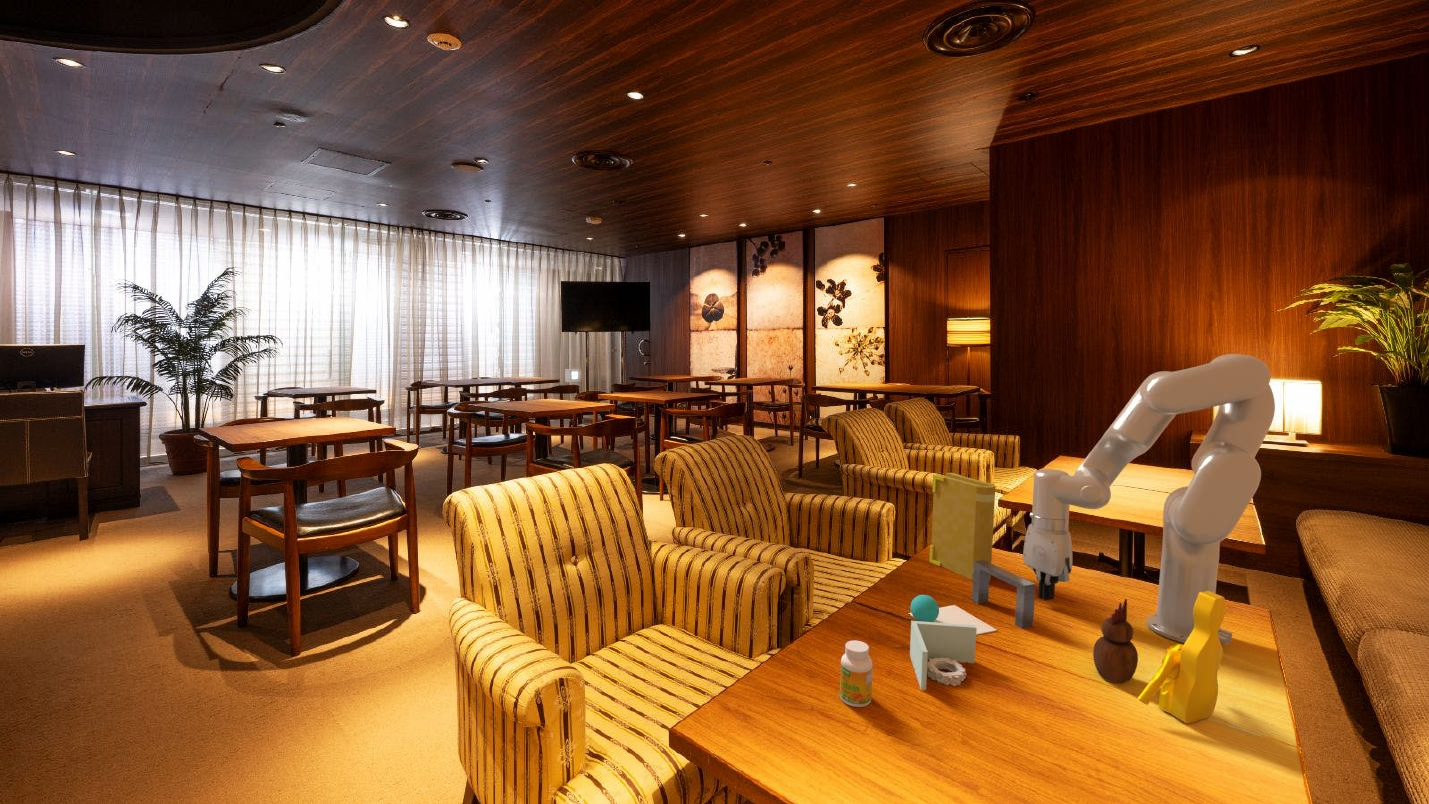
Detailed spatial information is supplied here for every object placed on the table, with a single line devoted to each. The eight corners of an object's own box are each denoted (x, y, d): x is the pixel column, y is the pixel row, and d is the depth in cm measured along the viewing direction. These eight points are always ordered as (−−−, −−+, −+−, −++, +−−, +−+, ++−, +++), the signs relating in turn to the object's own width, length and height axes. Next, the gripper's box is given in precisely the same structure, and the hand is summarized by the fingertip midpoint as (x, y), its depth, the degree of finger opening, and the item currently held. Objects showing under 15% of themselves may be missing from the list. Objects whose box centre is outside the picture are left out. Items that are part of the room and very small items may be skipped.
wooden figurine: (1120, 669, 116) (1126, 593, 114) (1142, 686, 110) (1149, 607, 108) (1085, 669, 116) (1091, 594, 114) (1106, 687, 110) (1112, 607, 108)
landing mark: (996, 630, 131) (997, 630, 131) (947, 640, 126) (947, 639, 126) (954, 605, 143) (954, 605, 143) (908, 613, 139) (908, 613, 139)
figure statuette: (1195, 691, 109) (1206, 573, 106) (1246, 717, 101) (1259, 590, 99) (1125, 712, 102) (1135, 586, 100) (1173, 741, 95) (1185, 606, 93)
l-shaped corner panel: (920, 691, 109) (922, 651, 108) (909, 656, 121) (911, 620, 120) (991, 697, 107) (993, 657, 106) (973, 661, 119) (975, 625, 118)
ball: (930, 633, 132) (949, 614, 133) (917, 616, 130) (936, 596, 131) (913, 620, 138) (931, 601, 139) (900, 604, 136) (918, 585, 137)
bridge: (981, 598, 147) (983, 560, 146) (1032, 626, 133) (1035, 583, 132) (971, 600, 146) (973, 561, 145) (1022, 628, 132) (1024, 585, 131)
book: (929, 561, 171) (933, 474, 169) (947, 558, 174) (951, 472, 172) (977, 583, 156) (982, 488, 154) (996, 579, 159) (1001, 485, 156)
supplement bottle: (834, 700, 106) (835, 647, 105) (848, 686, 110) (849, 635, 109) (863, 712, 102) (865, 657, 101) (876, 697, 106) (878, 644, 105)
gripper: (1011, 515, 147) (1008, 588, 149) (1065, 534, 133) (1061, 614, 135) (1035, 512, 150) (1032, 584, 152) (1091, 530, 136) (1086, 609, 138)
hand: (1046, 598), depth 143 cm, fingers closed
